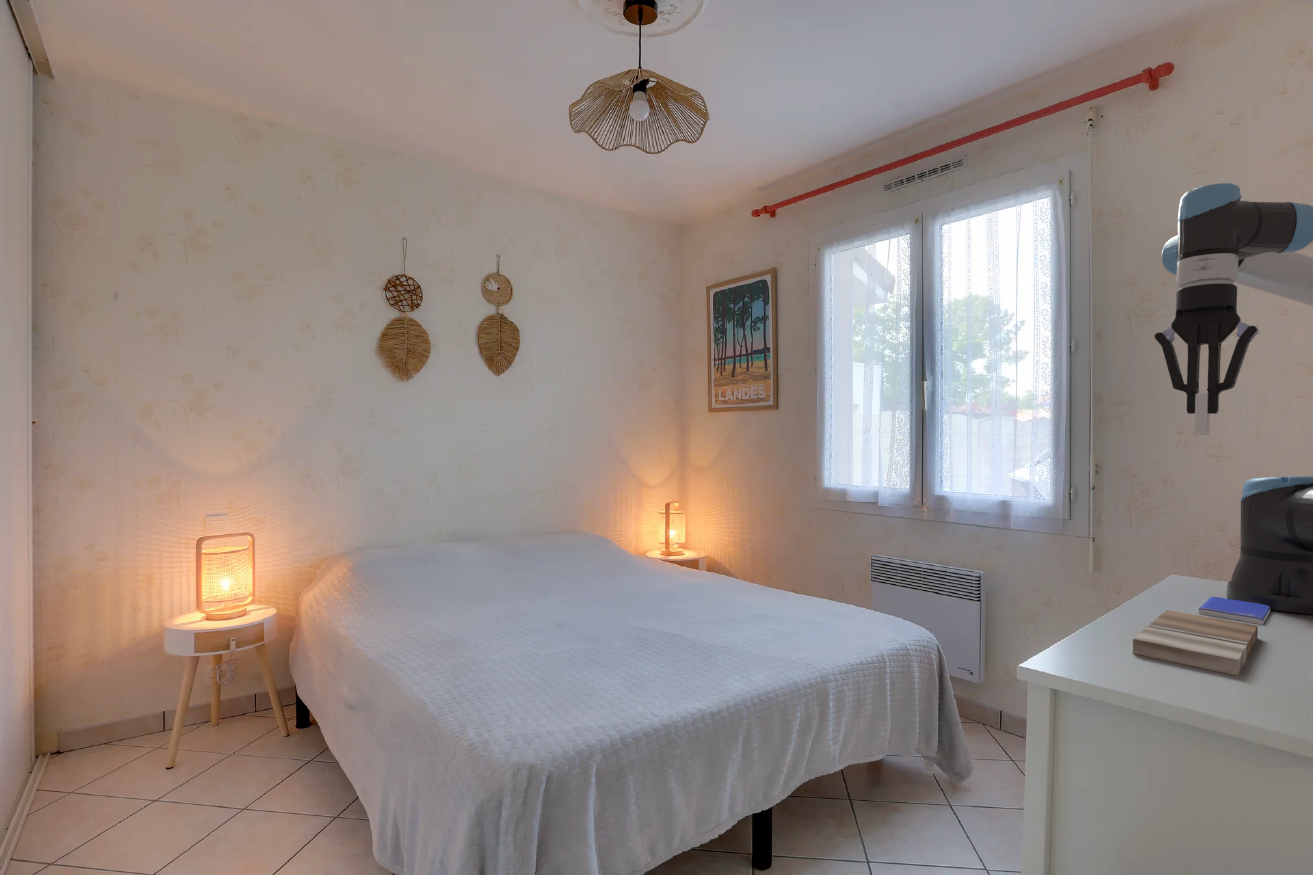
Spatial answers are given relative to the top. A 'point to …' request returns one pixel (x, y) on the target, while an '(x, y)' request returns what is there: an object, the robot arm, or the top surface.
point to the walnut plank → (1209, 627)
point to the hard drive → (1235, 610)
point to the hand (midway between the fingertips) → (1201, 434)
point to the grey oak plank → (1191, 649)
